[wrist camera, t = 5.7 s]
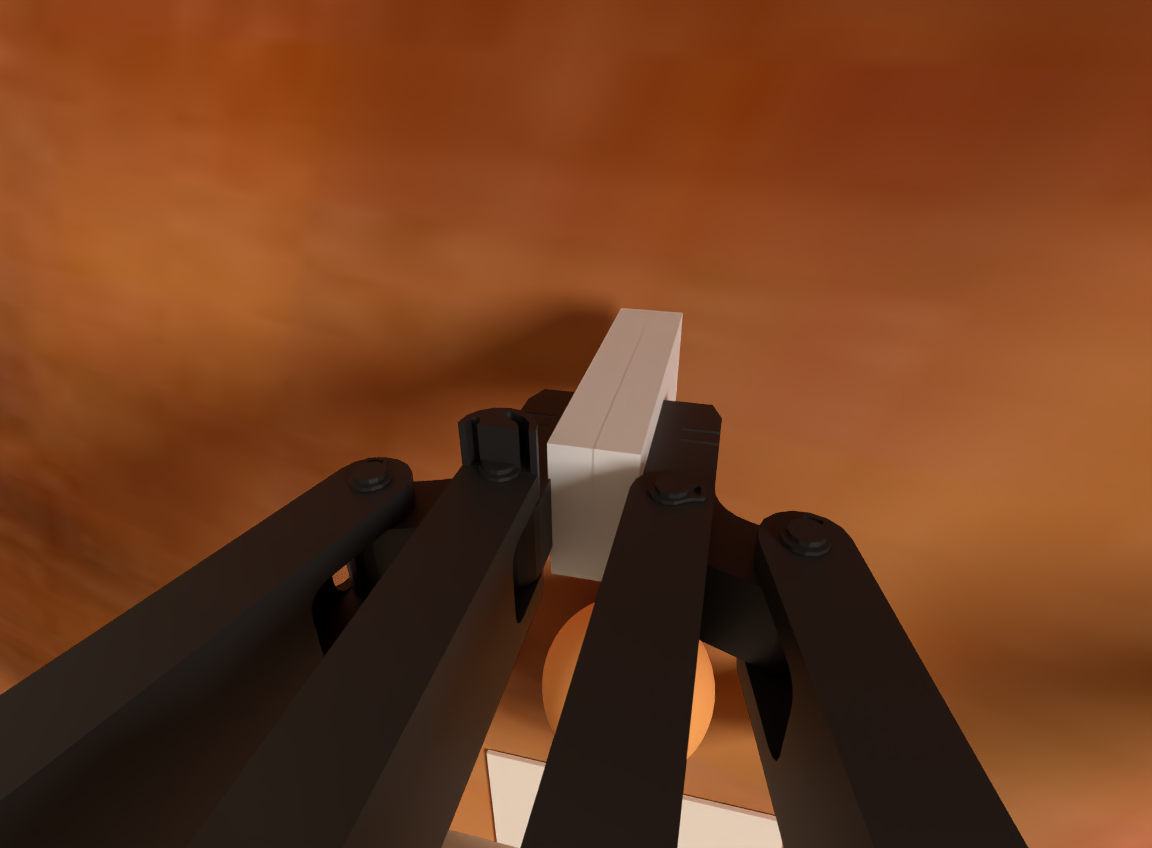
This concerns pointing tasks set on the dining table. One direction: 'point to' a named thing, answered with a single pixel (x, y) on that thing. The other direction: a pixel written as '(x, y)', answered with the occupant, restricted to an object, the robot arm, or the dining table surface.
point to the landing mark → (707, 829)
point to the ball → (563, 666)
